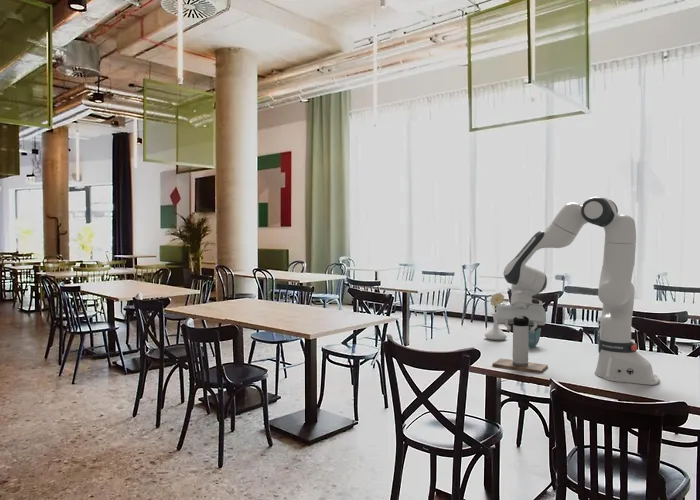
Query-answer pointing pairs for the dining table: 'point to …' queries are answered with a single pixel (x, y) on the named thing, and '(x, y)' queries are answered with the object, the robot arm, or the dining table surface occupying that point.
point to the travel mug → (520, 341)
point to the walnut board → (529, 368)
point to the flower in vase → (496, 331)
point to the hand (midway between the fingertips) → (520, 331)
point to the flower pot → (534, 337)
